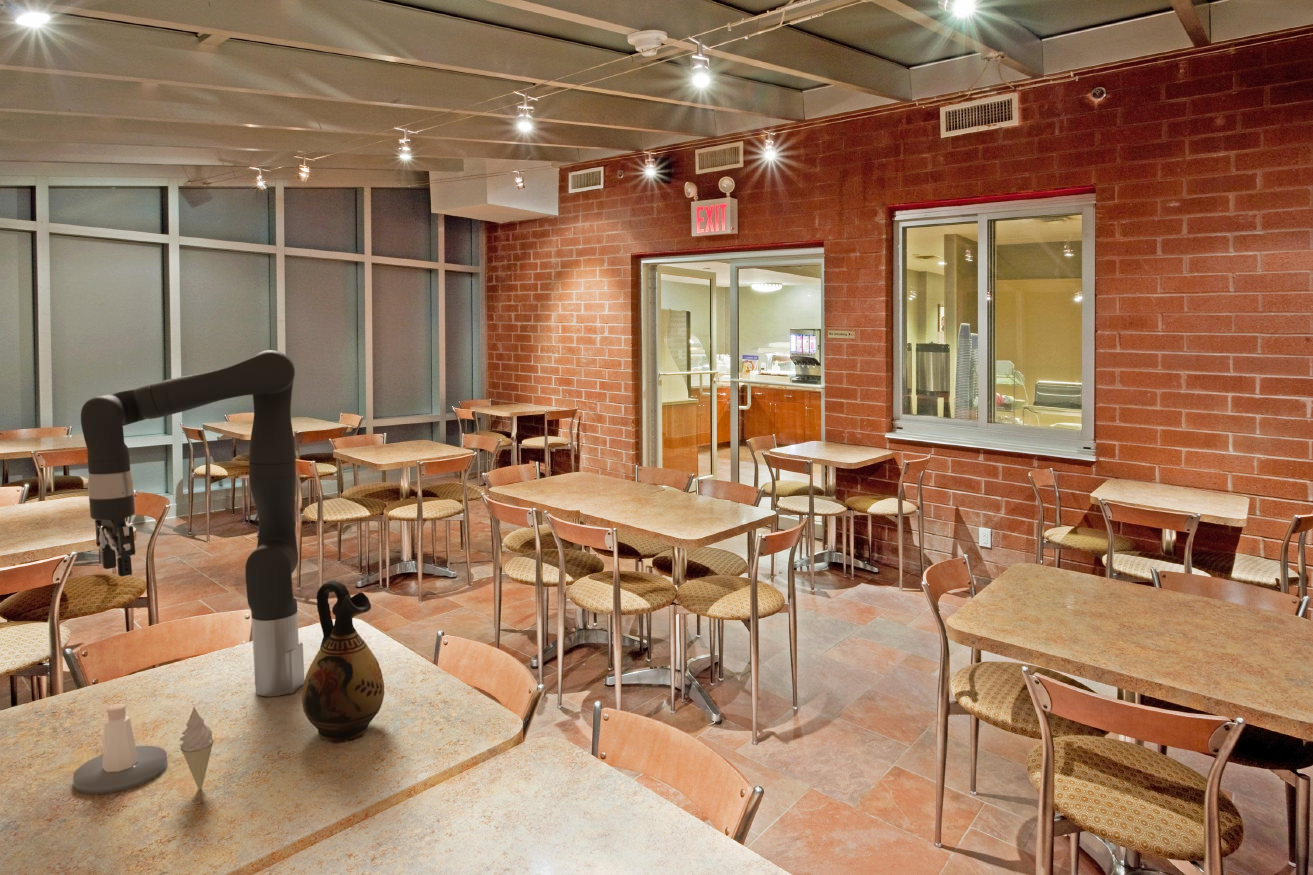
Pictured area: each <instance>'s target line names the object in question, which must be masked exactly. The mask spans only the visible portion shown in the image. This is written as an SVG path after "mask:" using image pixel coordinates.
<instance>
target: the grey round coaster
mask: <svg viewBox="0 0 1313 875" xmlns="http://www.w3.org/2000/svg"><path fill="white" fill-rule="evenodd" d="M135 746H136V751H137V756H138V762H137V763H136V764H135V765H134V766H132V767H131V768H128V769H125V770H122V771H119V772H106V771H105V770H104V769H103V768H102V767H103V753H102V754H100V755H97V756H95V757H94V758H91V759H89V760H87V761H86V762H85V763H83V764H82V765H80V766H79V767H78V768H77V769H76V770H75V771H74V773H73V776H72V779H73V787H74V789H75V791H77V792H78V791H79V792H78V793H81V794H84V795H92V794H99V795H105V794H104V793H109V794H112V793H111V792H115V793H119V792H118V791H120V792H123V791H122V790H124V791H127V790H130V789H129V788H131V789H133V788H136V787H138V786H141V785H143V784H142V783H144V784H145V783H147V782H150V781H151V780H153V779H154V778H157V777H158V776H159V775H161V774H162V773H163V772H164V771H165V770H166V768H167V766H168V754H167V751H166V750H165V749H163V748H161V747H159V746H156V745H155V746H153V745H138V746H137V745H135ZM140 784H141V785H140ZM132 787H133V788H132ZM126 789H127V790H126ZM102 793H103V794H102Z"/></svg>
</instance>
